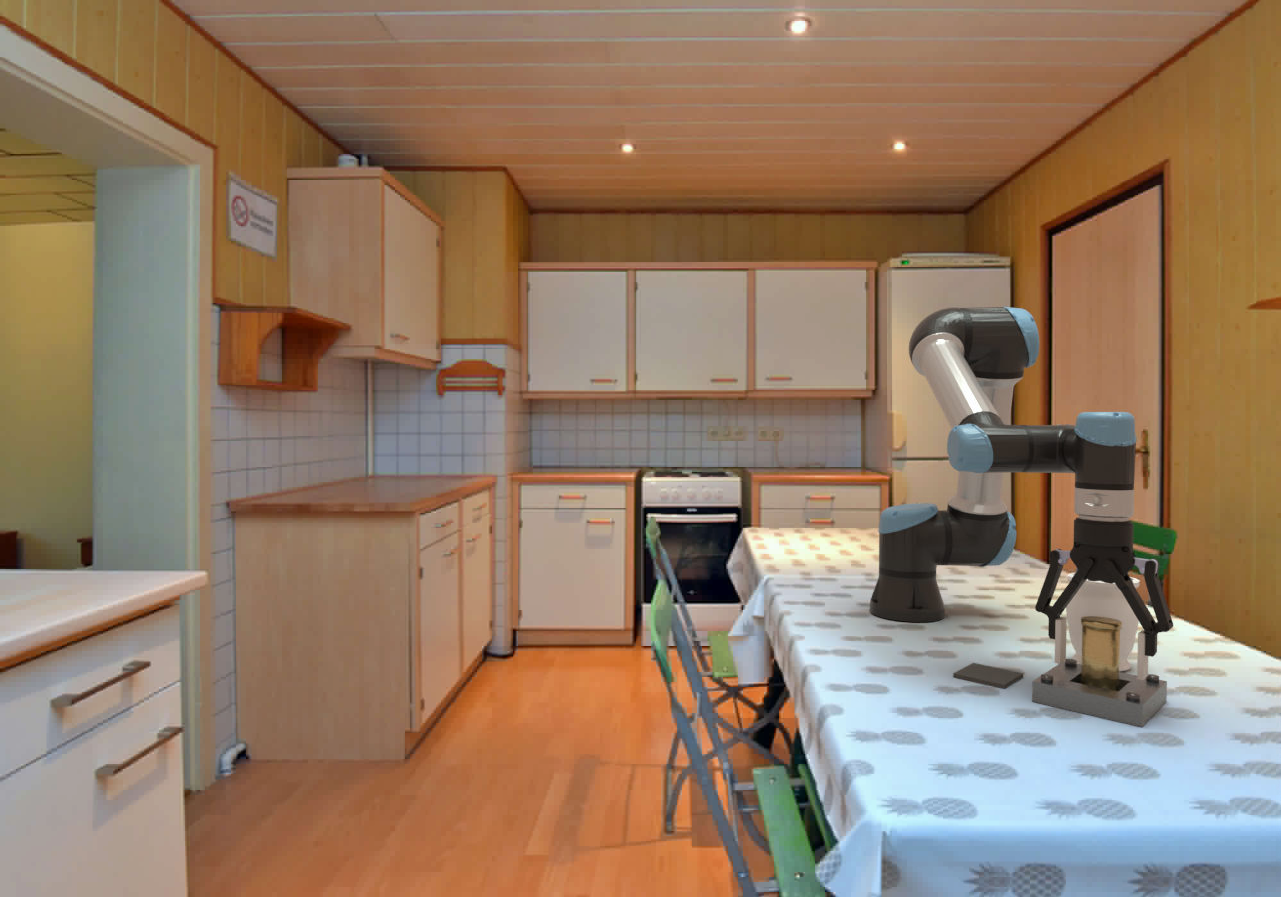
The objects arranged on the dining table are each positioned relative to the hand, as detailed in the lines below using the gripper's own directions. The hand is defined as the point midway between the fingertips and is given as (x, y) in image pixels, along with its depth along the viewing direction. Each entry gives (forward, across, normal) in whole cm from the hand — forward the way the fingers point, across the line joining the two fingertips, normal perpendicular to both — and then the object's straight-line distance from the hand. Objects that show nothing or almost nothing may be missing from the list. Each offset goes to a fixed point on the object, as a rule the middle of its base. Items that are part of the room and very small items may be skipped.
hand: (1100, 669), depth 117 cm
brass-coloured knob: (+5, 0, 0) cm, 5 cm away
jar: (+5, -5, +20) cm, 21 cm away
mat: (+5, -16, 0) cm, 17 cm away
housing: (+5, 0, 0) cm, 5 cm away
